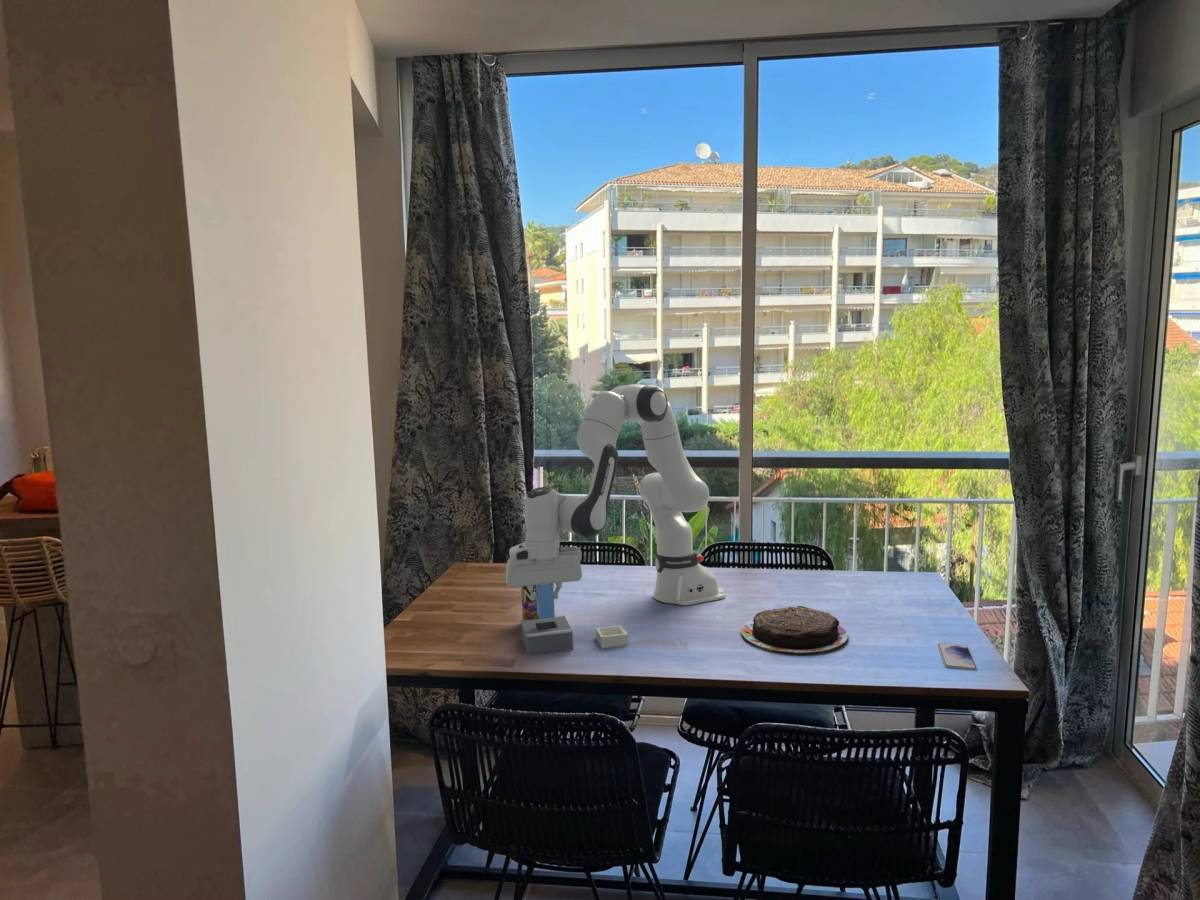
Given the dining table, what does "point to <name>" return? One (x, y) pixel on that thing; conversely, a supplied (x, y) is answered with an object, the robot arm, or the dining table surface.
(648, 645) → the dining table surface
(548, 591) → the plug
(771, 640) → the chocolate cake
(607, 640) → the white square tray
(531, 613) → the candy box
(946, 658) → the smartphone
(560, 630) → the port block
